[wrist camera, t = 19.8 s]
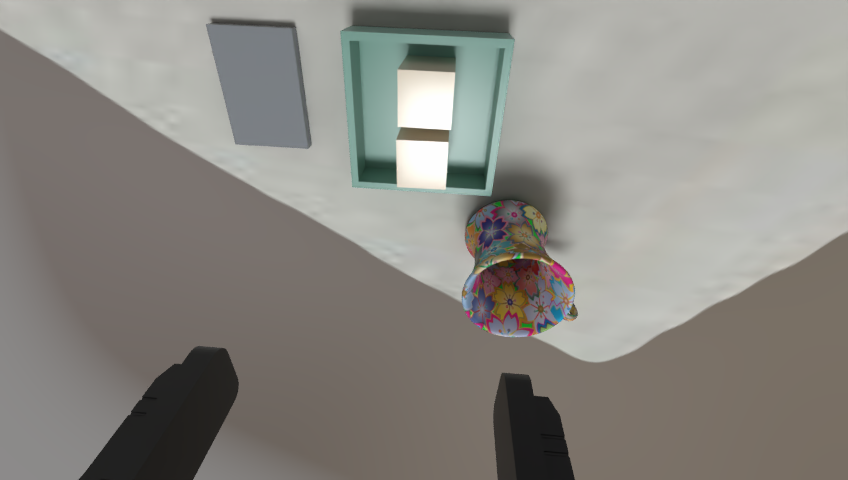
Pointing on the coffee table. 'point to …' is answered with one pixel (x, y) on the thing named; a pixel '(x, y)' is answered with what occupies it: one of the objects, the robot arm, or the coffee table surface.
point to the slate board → (261, 83)
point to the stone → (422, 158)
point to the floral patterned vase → (514, 273)
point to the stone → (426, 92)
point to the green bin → (378, 102)
